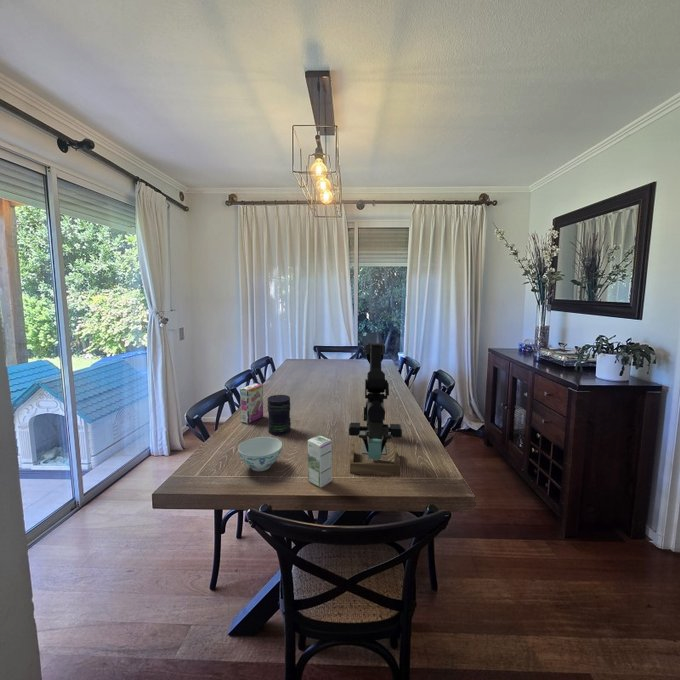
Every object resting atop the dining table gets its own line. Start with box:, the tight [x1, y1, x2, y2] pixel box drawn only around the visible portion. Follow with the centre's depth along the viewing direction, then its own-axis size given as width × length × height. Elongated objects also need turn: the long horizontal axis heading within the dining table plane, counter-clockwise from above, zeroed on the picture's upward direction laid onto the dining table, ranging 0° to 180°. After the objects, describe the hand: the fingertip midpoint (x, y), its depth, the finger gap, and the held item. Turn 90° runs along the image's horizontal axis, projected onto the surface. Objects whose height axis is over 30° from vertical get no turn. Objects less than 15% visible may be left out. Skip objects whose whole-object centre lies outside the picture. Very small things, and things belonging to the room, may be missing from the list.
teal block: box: [367, 438, 382, 460], centre depth 128 cm, size 4×4×6 cm
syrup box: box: [307, 434, 333, 489], centre depth 114 cm, size 6×6×14 cm
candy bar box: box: [239, 382, 264, 425], centre depth 167 cm, size 11×5×16 cm, turn 154°
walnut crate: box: [349, 443, 401, 476], centre depth 127 cm, size 15×17×4 cm
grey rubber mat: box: [361, 442, 387, 456], centre depth 138 cm, size 9×9×1 cm
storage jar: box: [267, 394, 292, 436], centre depth 154 cm, size 10×10×15 cm
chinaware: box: [237, 436, 283, 472], centre depth 124 cm, size 15×15×8 cm
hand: (374, 452), depth 128 cm, fingers closed on teal block, 4 cm apart
